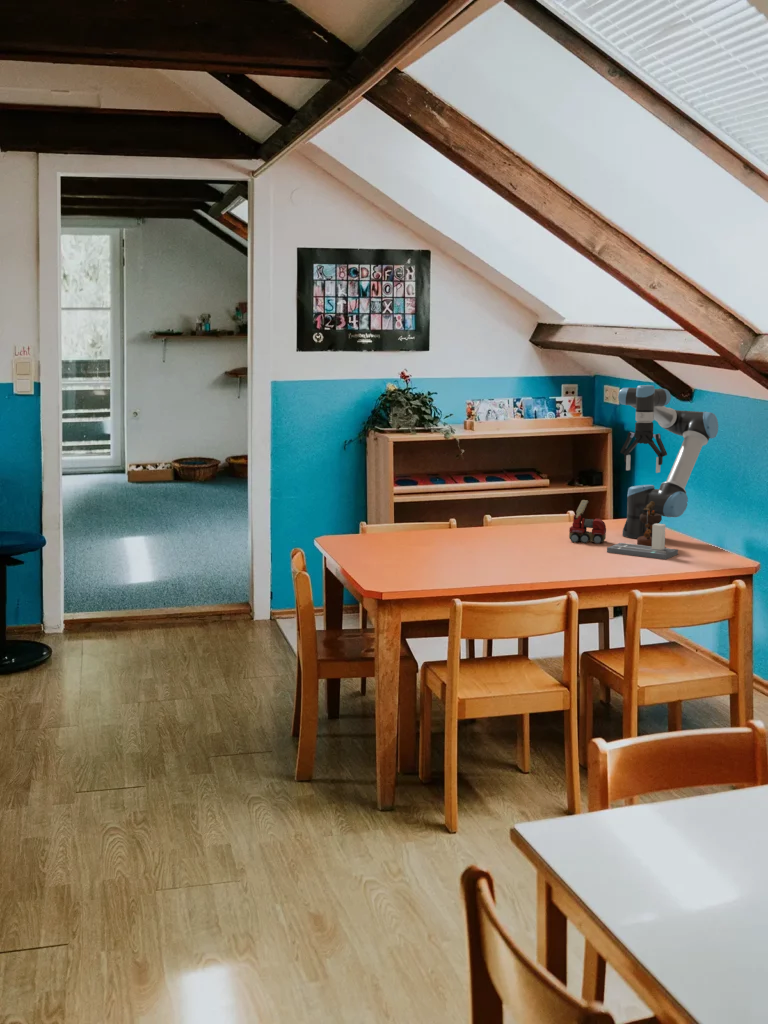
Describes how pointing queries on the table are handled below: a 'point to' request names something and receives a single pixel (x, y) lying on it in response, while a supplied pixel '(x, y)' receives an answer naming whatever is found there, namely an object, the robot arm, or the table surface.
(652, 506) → the brown tall irregular piece
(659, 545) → the fader tab
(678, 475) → the robot arm
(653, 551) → the slider board
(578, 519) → the toy fire truck
